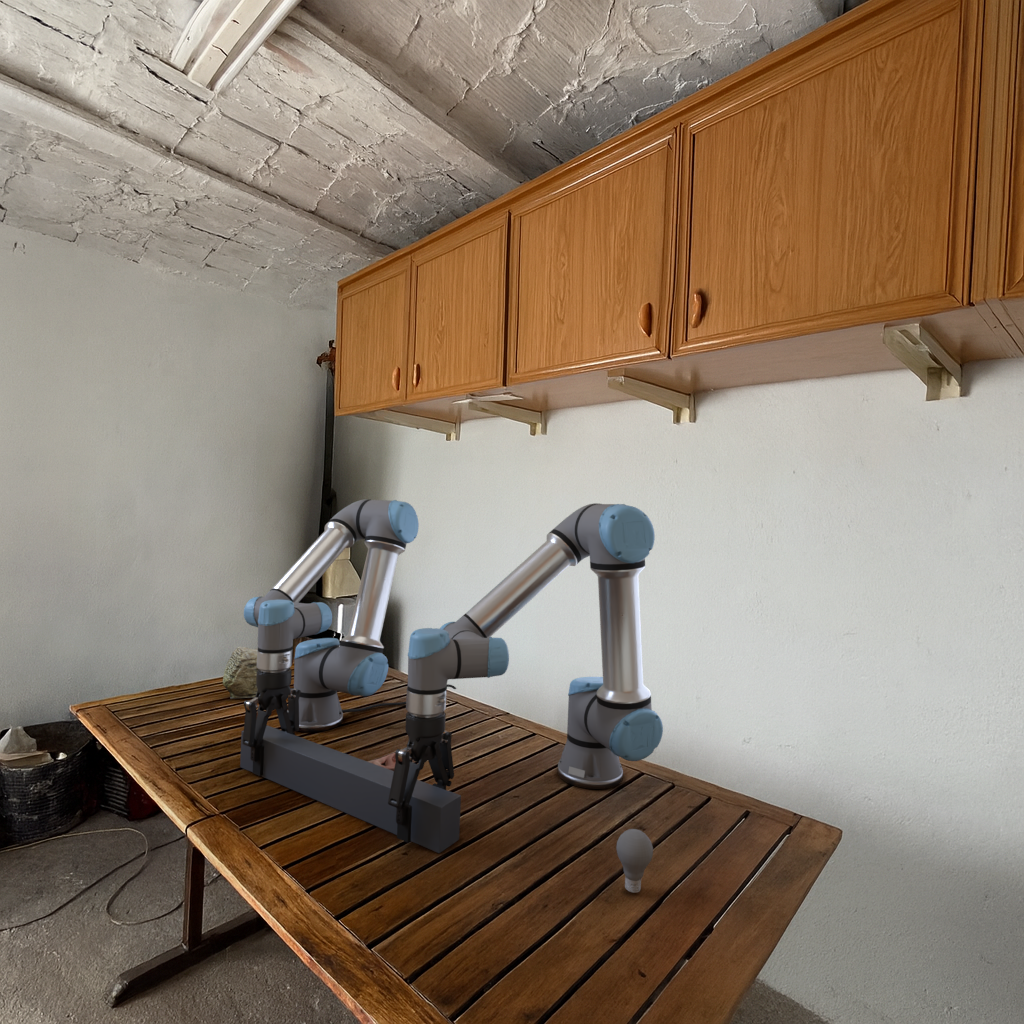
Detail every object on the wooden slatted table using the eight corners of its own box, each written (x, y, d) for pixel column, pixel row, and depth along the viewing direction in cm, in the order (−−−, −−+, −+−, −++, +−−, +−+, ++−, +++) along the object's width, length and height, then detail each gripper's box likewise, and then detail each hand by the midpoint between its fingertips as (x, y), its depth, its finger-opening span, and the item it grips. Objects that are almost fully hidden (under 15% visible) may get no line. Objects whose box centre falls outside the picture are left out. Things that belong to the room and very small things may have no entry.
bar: (240, 767, 146) (241, 731, 146) (262, 758, 151) (263, 723, 151) (439, 853, 114) (441, 807, 114) (459, 839, 119) (461, 795, 119)
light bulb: (610, 879, 108) (613, 822, 108) (644, 879, 109) (647, 822, 109) (619, 902, 102) (622, 840, 102) (655, 901, 103) (658, 840, 103)
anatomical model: (346, 759, 143) (368, 741, 154) (346, 777, 143) (367, 757, 154) (402, 767, 140) (420, 748, 152) (401, 785, 140) (419, 764, 152)
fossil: (218, 695, 195) (220, 647, 195) (278, 685, 208) (279, 640, 207) (228, 703, 189) (230, 653, 188) (289, 692, 201) (290, 645, 201)
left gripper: (247, 680, 135) (243, 788, 135) (318, 663, 151) (314, 759, 151) (226, 674, 139) (222, 778, 139) (297, 658, 155) (294, 752, 155)
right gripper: (401, 732, 109) (396, 861, 109) (475, 701, 127) (470, 812, 128) (370, 722, 113) (365, 847, 114) (446, 694, 131) (441, 801, 132)
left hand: (270, 768), depth 145 cm, fingers closed on bar, 6 cm apart
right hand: (421, 828), depth 121 cm, fingers open, 9 cm apart
